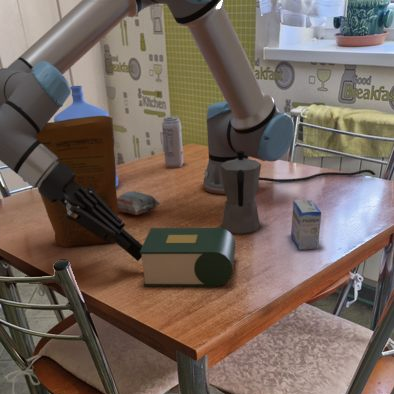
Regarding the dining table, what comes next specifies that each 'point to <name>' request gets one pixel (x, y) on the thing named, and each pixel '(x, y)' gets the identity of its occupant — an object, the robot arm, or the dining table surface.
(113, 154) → the pancake mix bag
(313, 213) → the medicine box
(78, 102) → the water jug
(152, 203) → the packaged food
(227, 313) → the dining table surface
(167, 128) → the energy drink can
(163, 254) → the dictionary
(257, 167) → the coffeepot
